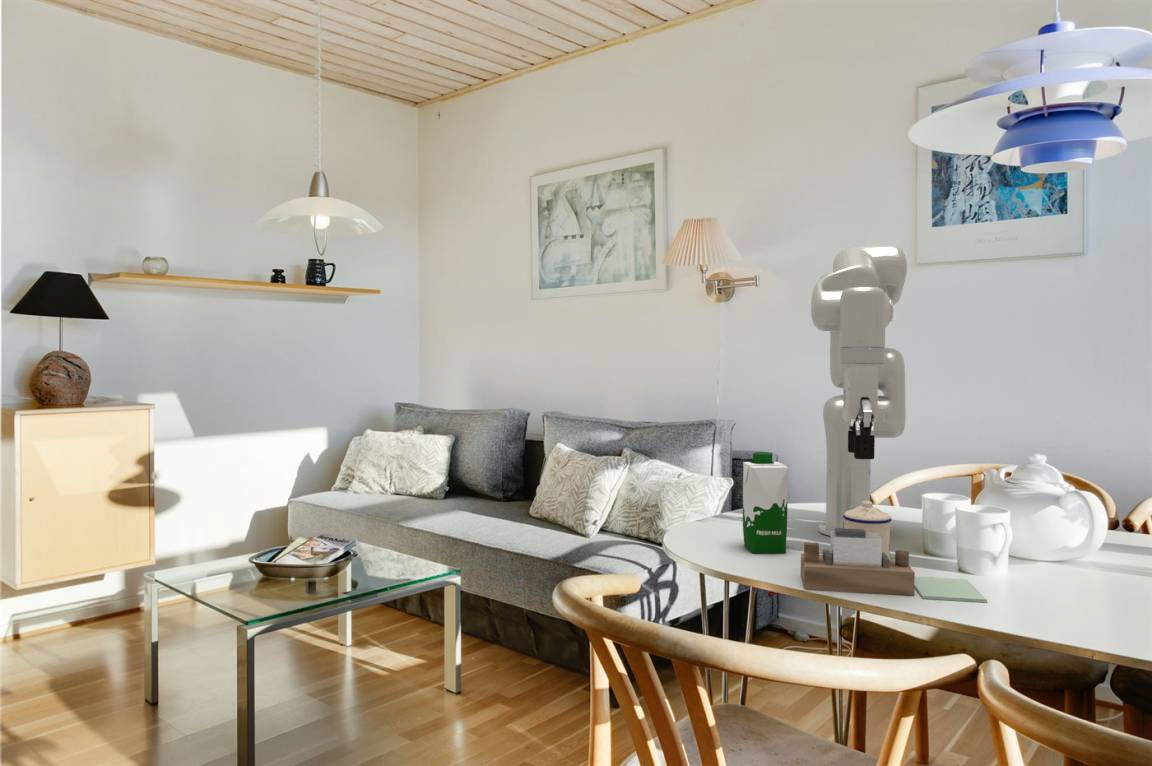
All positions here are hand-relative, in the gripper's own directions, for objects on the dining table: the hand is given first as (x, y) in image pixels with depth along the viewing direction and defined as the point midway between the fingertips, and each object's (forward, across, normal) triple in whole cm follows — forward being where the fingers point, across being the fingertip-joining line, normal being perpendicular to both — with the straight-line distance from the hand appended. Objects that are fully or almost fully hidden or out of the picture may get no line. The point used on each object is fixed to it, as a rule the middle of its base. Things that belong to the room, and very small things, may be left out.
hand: (860, 455), depth 139 cm
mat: (+23, -1, +14) cm, 27 cm away
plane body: (+23, -1, 0) cm, 23 cm away
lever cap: (+19, -1, 0) cm, 19 cm away
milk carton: (+23, -24, -16) cm, 37 cm away
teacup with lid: (+23, -21, +3) cm, 32 cm away
